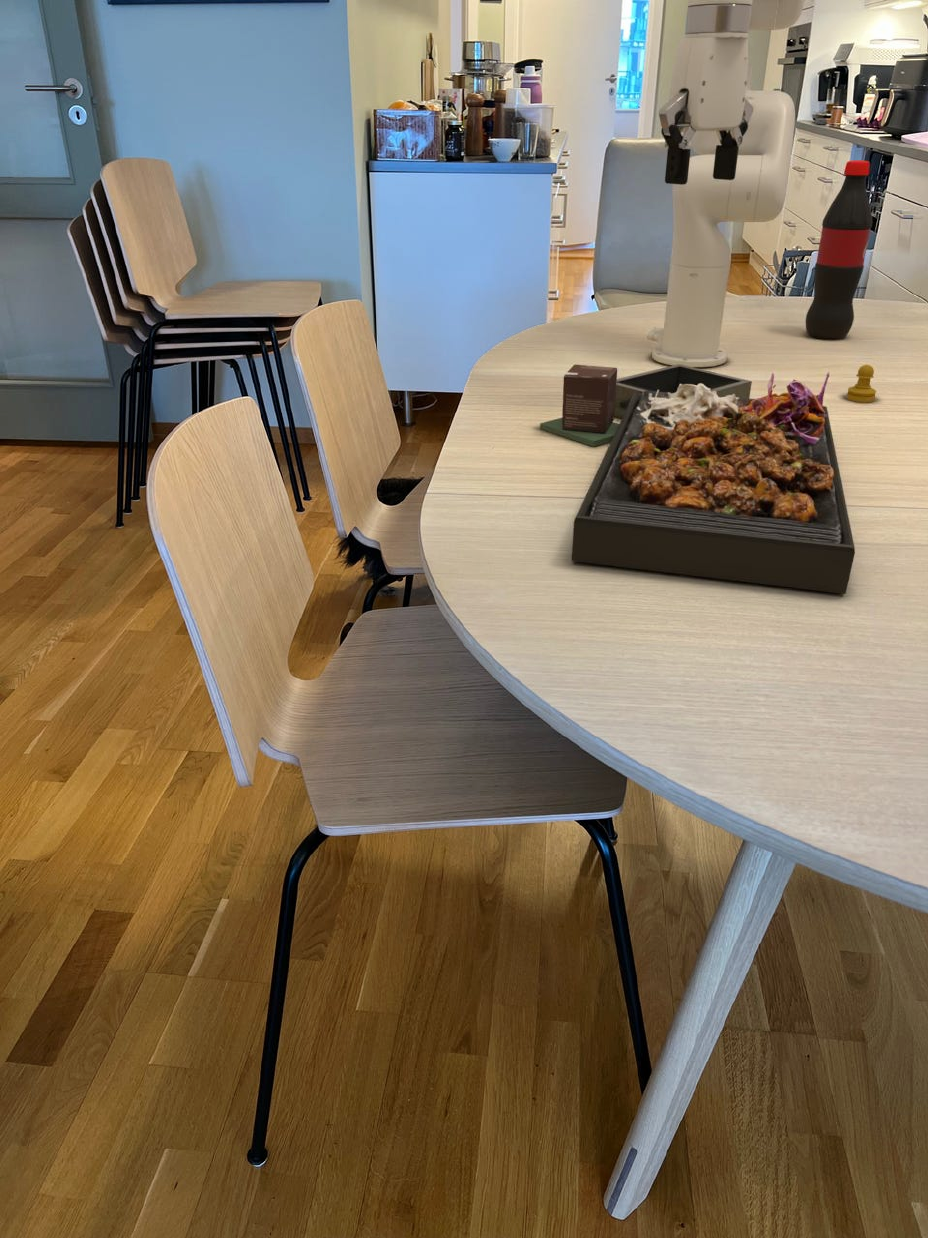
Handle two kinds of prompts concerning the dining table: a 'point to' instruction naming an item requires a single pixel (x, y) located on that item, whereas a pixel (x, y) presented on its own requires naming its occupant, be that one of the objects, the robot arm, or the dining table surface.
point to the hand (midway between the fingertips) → (700, 181)
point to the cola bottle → (841, 256)
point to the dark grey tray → (676, 384)
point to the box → (589, 398)
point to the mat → (580, 433)
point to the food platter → (721, 490)
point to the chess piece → (862, 386)
